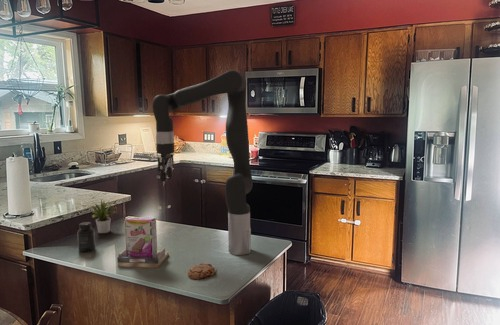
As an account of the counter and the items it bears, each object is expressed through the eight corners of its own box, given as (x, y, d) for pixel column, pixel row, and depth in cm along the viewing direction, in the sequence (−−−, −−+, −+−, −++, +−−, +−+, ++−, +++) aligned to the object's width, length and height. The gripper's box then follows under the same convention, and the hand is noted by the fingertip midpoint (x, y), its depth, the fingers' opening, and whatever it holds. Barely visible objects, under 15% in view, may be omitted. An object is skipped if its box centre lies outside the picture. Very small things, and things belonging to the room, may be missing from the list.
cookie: (181, 277, 137) (181, 269, 137) (197, 266, 147) (197, 259, 146) (205, 282, 133) (205, 274, 133) (220, 271, 143) (220, 263, 142)
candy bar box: (126, 260, 149) (123, 219, 147) (132, 255, 154) (130, 216, 152) (152, 261, 147) (151, 220, 145) (158, 257, 152) (156, 217, 150)
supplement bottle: (99, 248, 166) (97, 222, 165) (86, 254, 160) (84, 226, 159) (87, 246, 169) (85, 220, 168) (74, 251, 163) (72, 224, 161)
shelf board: (168, 254, 158) (168, 244, 158) (157, 267, 145) (157, 256, 145) (131, 253, 160) (130, 243, 159) (117, 266, 147) (116, 255, 146)
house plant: (102, 238, 179) (99, 204, 177) (81, 234, 185) (78, 202, 183) (123, 230, 192) (122, 198, 190) (103, 226, 198) (101, 196, 196)
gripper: (162, 140, 170) (163, 176, 172) (150, 143, 156) (152, 182, 158) (178, 140, 169) (179, 176, 172) (168, 143, 155) (170, 182, 158)
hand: (166, 179), depth 165 cm, fingers open, 8 cm apart
